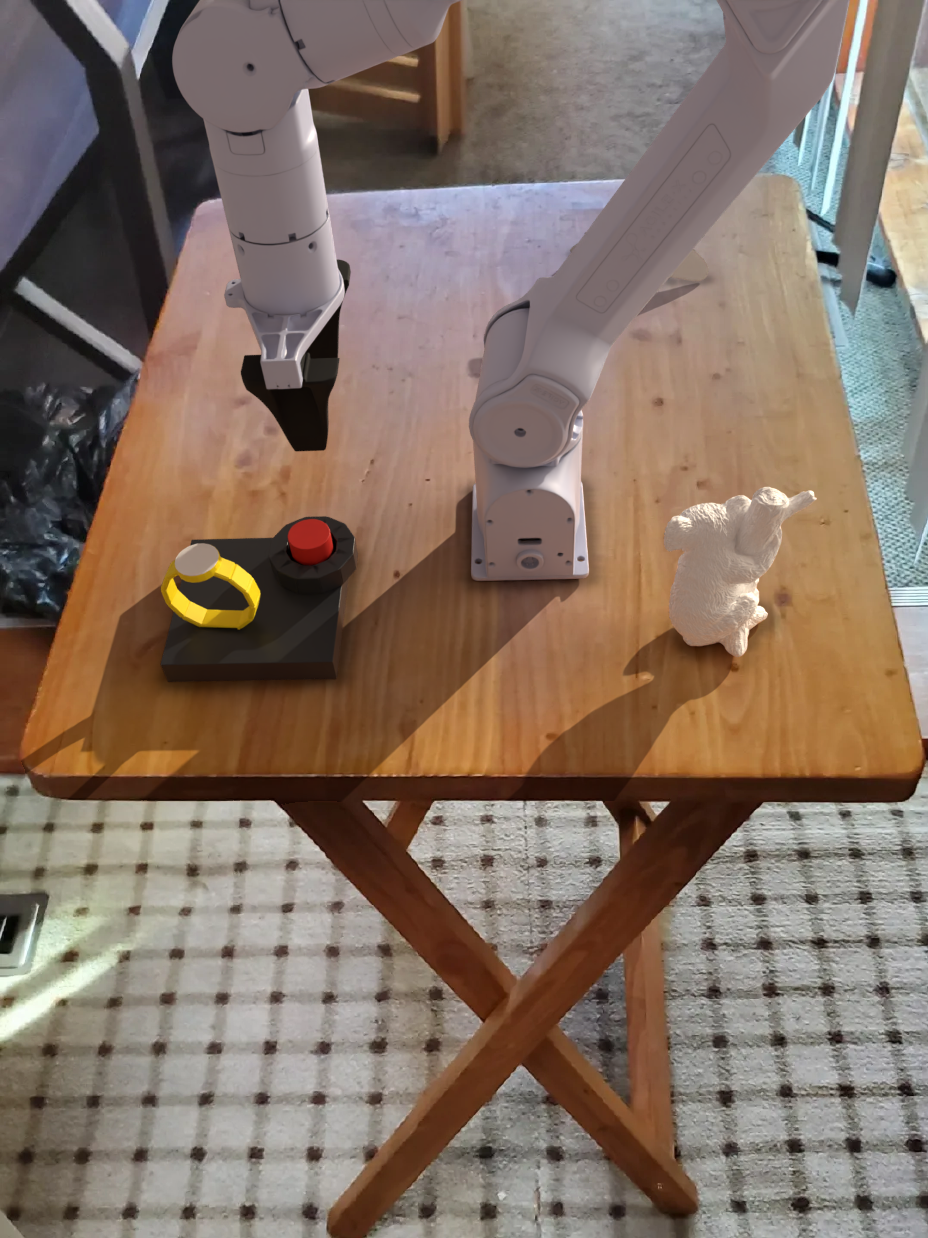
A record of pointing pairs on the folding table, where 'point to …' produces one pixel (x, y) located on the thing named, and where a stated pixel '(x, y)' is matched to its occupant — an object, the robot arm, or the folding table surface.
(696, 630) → the koala figurine
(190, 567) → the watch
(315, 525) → the button
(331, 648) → the black red button box
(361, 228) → the folding table surface
